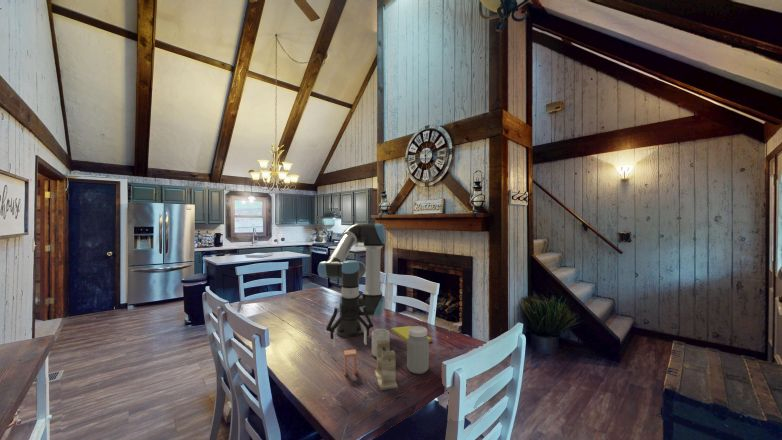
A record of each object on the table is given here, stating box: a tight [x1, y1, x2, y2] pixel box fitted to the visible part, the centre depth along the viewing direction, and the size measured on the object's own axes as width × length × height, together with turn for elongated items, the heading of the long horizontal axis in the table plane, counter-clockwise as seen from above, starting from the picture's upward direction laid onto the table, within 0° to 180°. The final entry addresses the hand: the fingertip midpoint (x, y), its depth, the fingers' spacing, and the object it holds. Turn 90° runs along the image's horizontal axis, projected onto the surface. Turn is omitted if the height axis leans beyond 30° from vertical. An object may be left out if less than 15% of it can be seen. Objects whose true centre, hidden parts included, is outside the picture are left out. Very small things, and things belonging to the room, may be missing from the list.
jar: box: [406, 325, 430, 375], centre depth 131 cm, size 10×10×18 cm
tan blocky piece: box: [374, 340, 399, 391], centre depth 122 cm, size 14×7×14 cm, turn 13°
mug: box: [371, 328, 391, 358], centre depth 146 cm, size 12×9×11 cm
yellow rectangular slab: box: [390, 325, 433, 343], centre depth 168 cm, size 12×2×24 cm
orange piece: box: [343, 349, 357, 376], centre depth 128 cm, size 5×4×9 cm
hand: (349, 344), depth 127 cm, fingers open, 13 cm apart
